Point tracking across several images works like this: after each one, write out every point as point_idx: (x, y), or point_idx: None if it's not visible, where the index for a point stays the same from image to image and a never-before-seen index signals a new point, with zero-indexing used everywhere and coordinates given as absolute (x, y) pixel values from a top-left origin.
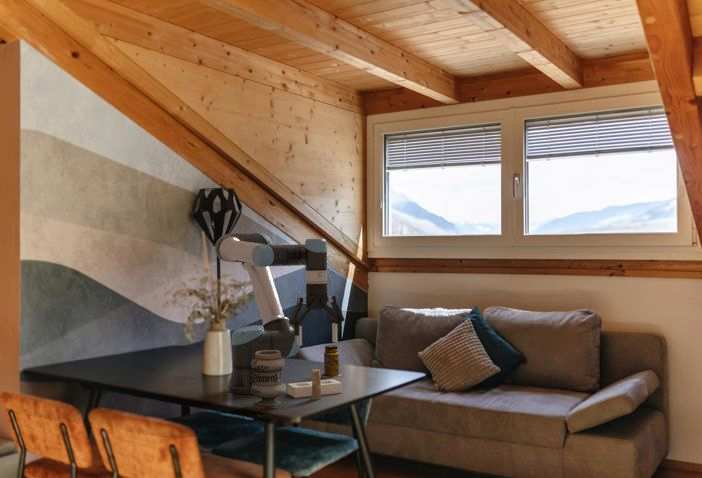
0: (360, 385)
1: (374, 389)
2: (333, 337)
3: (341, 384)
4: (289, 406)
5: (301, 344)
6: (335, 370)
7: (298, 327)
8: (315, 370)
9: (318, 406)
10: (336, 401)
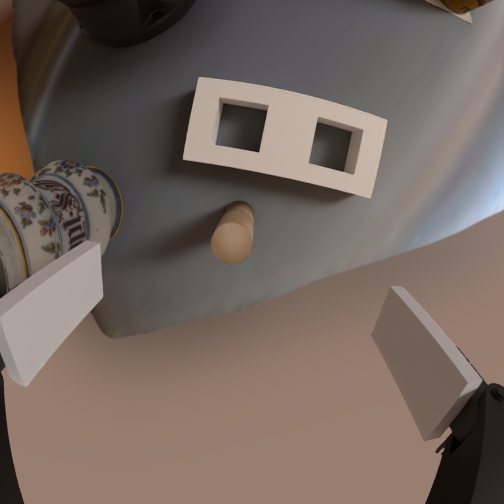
0: (453, 149)
1: (445, 222)
2: (396, 322)
3: (366, 196)
4: (128, 249)
5: (97, 299)
6: (463, 7)
7: (7, 357)
8: (224, 250)
9: (194, 297)
10: (269, 280)
